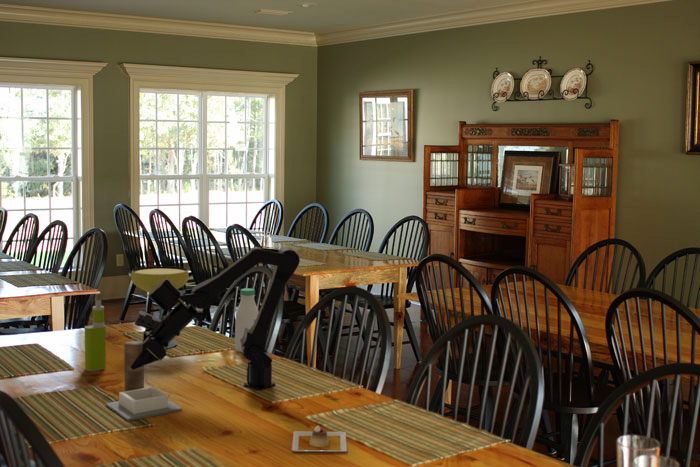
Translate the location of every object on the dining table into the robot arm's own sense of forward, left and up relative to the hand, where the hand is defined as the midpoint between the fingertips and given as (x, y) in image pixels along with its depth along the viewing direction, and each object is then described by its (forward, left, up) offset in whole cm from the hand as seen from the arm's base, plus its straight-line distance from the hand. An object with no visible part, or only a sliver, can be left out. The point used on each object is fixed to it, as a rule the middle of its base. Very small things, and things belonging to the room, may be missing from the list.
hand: (132, 363), depth 212 cm
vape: (+26, -6, -8) cm, 28 cm away
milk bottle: (+9, -51, -8) cm, 53 cm away
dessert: (-62, -4, -8) cm, 62 cm away
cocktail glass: (+34, -36, -8) cm, 50 cm away
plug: (0, 0, -7) cm, 8 cm away
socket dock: (-13, +7, -7) cm, 17 cm away
